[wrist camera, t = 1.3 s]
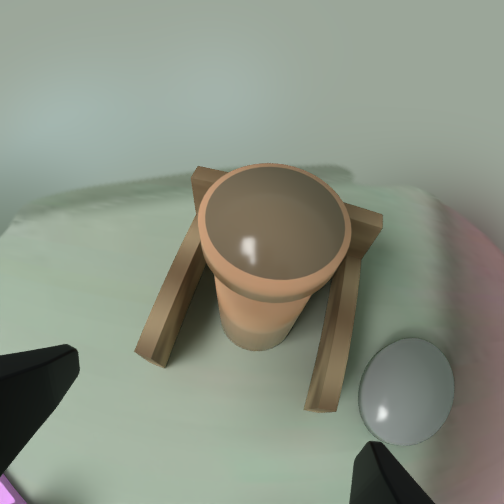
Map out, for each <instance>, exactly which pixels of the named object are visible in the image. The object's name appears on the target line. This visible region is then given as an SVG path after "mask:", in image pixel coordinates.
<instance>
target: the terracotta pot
mask: <svg viewBox="0 0 504 504" xmlns="http://www.w3.org/2000/svg"><path fill="white" fill-rule="evenodd" d="M198 228H199V235H200V241H201V246H202V251H203V255H204V258H205V260H206V263H207V265H208V266H209V268H210V270H211V271H212V273H213V274H214V277H215V284H216V291H217V299H218V306H219V313H220V320H221V325H222V328H223V330H224V332H225V334H226V336H227V337H228V338H229V339H230V340H231V341H232V342H233V343H234V344H236V345H237V346H239V347H241V348H243V349H246V350H250V351H264V350H268V349H271V348H273V347H275V346H277V345H278V344H280V343H281V342H282V341H283V340H284V339H285V338H286V336H287V335H288V333H289V332H290V330H291V328H292V327H293V325H294V323H295V322H296V320H297V318H298V317H299V315H300V313H301V312H302V310H303V308H304V307H305V305H306V303H307V302H308V300H309V298H310V297H311V295H312V294H313V293H315V292H317V291H318V290H319V289H321V288H322V287H323V286H324V285H325V284H326V283H327V282H328V281H329V280H330V279H331V277H332V276H333V274H334V273H335V271H336V270H337V268H338V266H339V265H340V263H341V261H342V260H343V258H344V256H345V255H346V253H347V250H348V248H349V245H350V241H351V222H350V217H349V214H348V212H347V209H346V207H345V205H344V203H343V201H342V200H341V199H340V197H339V196H338V194H337V193H336V192H335V191H334V190H333V189H332V188H331V187H330V186H329V185H328V184H326V183H325V182H324V181H322V180H321V179H320V178H318V177H316V176H315V175H313V174H311V173H309V172H307V171H304V170H302V169H299V168H296V167H293V166H288V165H283V164H274V163H262V164H253V165H248V166H244V167H241V168H238V169H235V170H233V171H231V172H229V173H227V174H226V175H224V176H222V177H221V178H220V179H218V180H217V181H216V182H215V183H214V184H213V185H212V186H211V187H210V188H209V189H208V191H207V192H206V194H205V195H204V197H203V199H202V201H201V204H200V208H199V212H198Z"/></svg>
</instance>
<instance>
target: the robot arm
mask: <svg viewBox="0 0 504 504" xmlns="http://www.w3.org/2000/svg"><path fill="white" fill-rule="evenodd" d="M79 371H80V366H79V356H78V351H77V349H75V348H74V347H72V346H70V345H68V344H63V345H58V346H53V347H47V348H42V349H36V350H30V351H25V352H19V353H12V354H6V355H0V477H1V476H2V474H3V473H4V472H5V470H6V469H7V468H8V466H9V465H10V464H11V463H12V461H13V460H14V459H15V458H16V456H17V455H18V454H19V453H20V451H21V450H22V449H23V448H24V446H25V445H26V444H27V443H28V441H29V440H30V439H31V438H32V436H33V435H34V434H35V433H36V432H37V430H38V429H39V428H40V427H41V426H42V424H43V423H44V422H45V421H46V420H47V418H48V417H49V416H50V415H51V414H52V412H53V411H54V410H55V409H56V407H57V406H58V405H59V403H60V402H61V400H62V399H63V397H64V396H65V394H66V393H67V391H68V390H69V388H70V387H71V385H72V384H73V382H74V381H75V379H76V378H77V376H78V374H79ZM349 504H435V503H434V502H433V501H432V500H431V498H430V497H429V496H428V495H427V494H426V493H425V492H424V491H423V489H422V488H421V487H420V486H419V485H418V484H417V483H416V481H415V480H414V479H413V478H412V477H411V476H410V474H409V473H408V472H407V471H406V470H405V469H404V467H403V466H402V465H401V464H400V463H399V462H398V460H397V459H396V458H395V457H394V456H393V455H392V453H391V452H390V451H389V450H388V449H387V448H386V446H385V445H384V444H383V443H382V442H377V441H369V442H367V443H366V445H365V446H364V447H363V449H362V450H361V451H360V452H359V454H358V455H357V456H356V458H355V460H354V466H353V476H352V485H351V493H350V502H349Z"/></svg>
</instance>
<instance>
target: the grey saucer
mask: <svg viewBox="0 0 504 504" xmlns="http://www.w3.org/2000/svg"><path fill="white" fill-rule="evenodd" d="M453 398H454V378H453V373H452V370H451V367H450V365H449V363H448V360H447V359H446V357H445V356H444V354H443V353H442V352H441V351H440V350H439V349H438V348H437V347H436V346H434V345H433V344H432V343H430V342H428V341H425V340H423V339H418V338H406V339H402V340H398V341H396V342H394V343H392V344H390V345H388V346H387V347H385V348H383V349H382V350H381V351H379V352H378V353H377V354H376V355H375V356H374V357H373V358H372V359H371V361H370V362H369V363H368V365H367V367H366V368H365V370H364V373H363V375H362V378H361V381H360V385H359V392H358V404H359V410H360V414H361V417H362V420H363V422H364V424H365V426H366V427H367V429H368V430H369V431H370V432H371V433H372V434H373V435H374V436H375V437H376V438H377V439H379V440H381V441H383V442H385V443H388V444H393V445H414V444H417V443H420V442H423V441H425V440H426V439H428V438H430V437H431V436H432V435H433V434H435V433H436V432H437V431H438V430H439V429H440V427H441V426H442V425H443V423H444V422H445V420H446V418H447V417H448V414H449V412H450V410H451V407H452V403H453Z"/></svg>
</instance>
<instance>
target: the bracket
mask: <svg viewBox="0 0 504 504" xmlns="http://www.w3.org/2000/svg"><path fill="white" fill-rule="evenodd" d="M0 504H27V503H26V502H25V500H24V499H23V498H22V497H21V496H20V494H19V493H18V492H17V491H16V490H15V488H14V487H13V486H12V485H11V483H10V482H9V481H8V479H7V478H6V477H5V475H4V474H2V476H1V477H0Z"/></svg>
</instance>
